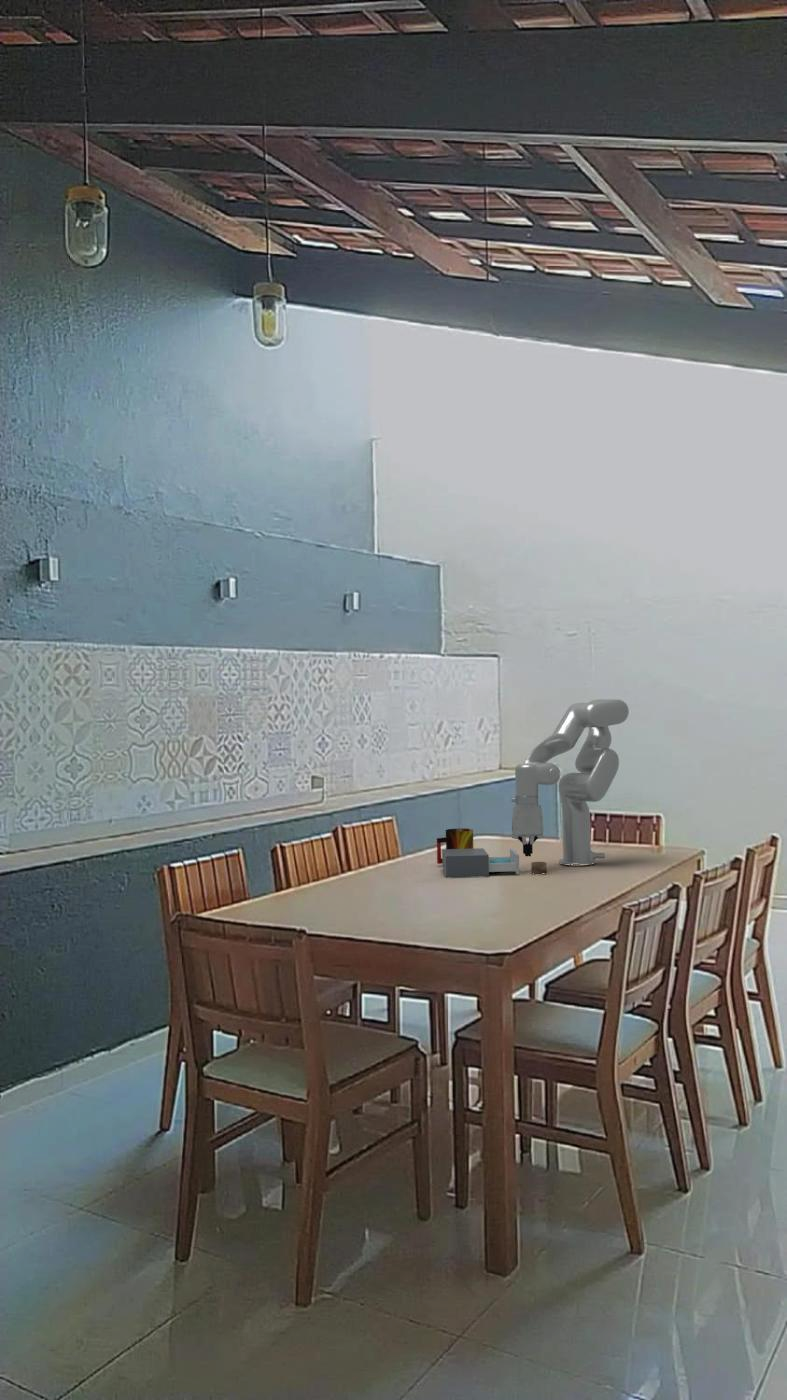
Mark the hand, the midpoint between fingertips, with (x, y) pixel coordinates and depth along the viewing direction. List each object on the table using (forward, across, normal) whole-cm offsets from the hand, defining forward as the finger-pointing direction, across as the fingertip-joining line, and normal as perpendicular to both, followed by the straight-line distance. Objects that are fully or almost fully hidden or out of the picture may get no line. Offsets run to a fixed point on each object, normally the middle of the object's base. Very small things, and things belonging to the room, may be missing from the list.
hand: (527, 855), depth 388 cm
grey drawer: (+5, -11, 0) cm, 12 cm away
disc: (+3, -9, 0) cm, 10 cm away
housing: (+5, -21, 0) cm, 22 cm away
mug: (+6, -22, +20) cm, 30 cm away
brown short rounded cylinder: (+5, +3, -5) cm, 8 cm away
